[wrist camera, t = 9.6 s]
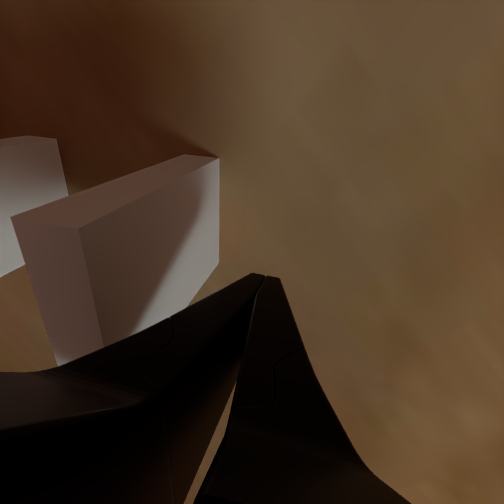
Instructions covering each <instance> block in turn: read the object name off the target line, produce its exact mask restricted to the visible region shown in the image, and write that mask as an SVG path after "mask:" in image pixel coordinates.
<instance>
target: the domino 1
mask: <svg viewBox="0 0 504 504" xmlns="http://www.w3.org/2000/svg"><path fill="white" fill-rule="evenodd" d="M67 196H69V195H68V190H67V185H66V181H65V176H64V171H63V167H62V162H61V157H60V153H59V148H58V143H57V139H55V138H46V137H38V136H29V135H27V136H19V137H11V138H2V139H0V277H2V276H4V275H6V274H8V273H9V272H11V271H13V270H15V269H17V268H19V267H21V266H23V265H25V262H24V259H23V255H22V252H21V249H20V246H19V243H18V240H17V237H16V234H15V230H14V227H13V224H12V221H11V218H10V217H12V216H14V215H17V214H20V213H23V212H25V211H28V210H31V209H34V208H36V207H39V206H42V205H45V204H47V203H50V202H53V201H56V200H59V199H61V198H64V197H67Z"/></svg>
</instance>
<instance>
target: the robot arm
mask: <svg viewBox="0 0 504 504" xmlns="http://www.w3.org/2000/svg"><path fill="white" fill-rule="evenodd" d="M236 381H237V382H236ZM235 383H236V387H235V391H234V396H233V401H232V405H231V411H230V415H229V419H228V424H227V428H226V431H225V435H224V437H223V439H222V442H221V444H220V446H219V448H218V450H217V452H216V455H215V457H214V459H213V461H212V463H211V465H210V468H209V470H208V472H207V474H206V476H205V478H204V481H203V483H202V485H201V487H200V489H199V491H198V494H197V496H196V498H195V500H194V503H193V504H411V503H410V502H409V501H407V500H406V499H405V498H404V497H402V496H401V495H400V494H398V493H397V492H396V491H395V490H393V489H392V488H391V487H389V486H388V485H387V484H386V483H384V482H383V481H382V480H380V479H379V478H378V477H377V476H376V475H374V474H373V473H372V471H371V470H370V469H369V468H368V467H367V466H366V465H365V463H364V462H363V461H362V459H361V458H360V456H359V455H358V453H357V452H356V450H355V448H354V447H353V445H352V443H351V441H350V439H349V438H348V436H347V434H346V432H345V430H344V428H343V427H342V425H341V423H340V421H339V419H338V417H337V415H336V414H335V412H334V410H333V408H332V406H331V404H330V402H329V401H328V399H327V397H326V395H325V393H324V391H323V389H322V387H321V385H320V383H319V381H318V379H317V377H316V375H315V373H314V370H313V368H312V365H311V363H310V360H309V358H308V355H307V352H306V350H305V347H304V344H303V341H302V339H301V336H300V333H299V330H298V327H297V325H296V322H295V319H294V316H293V313H292V311H291V308H290V305H289V302H288V300H287V297H286V294H285V291H284V288H283V286H282V283H281V280H280V278H277V277H272V276H266V277H265V276H264V275H261V274H256V273H251V274H249V275H247V276H245V277H243V278H241V279H239V280H237V281H236V282H234V283H232V284H230V285H228V286H226V287H224V288H222V289H220V290H219V291H217V292H215V293H213V294H211V295H209V296H207V297H205V298H203V299H202V300H200V301H198V302H196V303H194V304H192V305H190V306H188V307H187V308H185V309H183V310H181V311H179V312H177V313H175V314H173V315H171V316H170V318H169V317H168V318H166V319H164V320H162V321H160V322H158V323H156V324H154V325H152V326H150V327H148V328H146V329H144V330H142V331H140V332H138V333H136V334H133V335H131V336H129V337H127V338H124V339H122V340H120V341H118V342H115V343H113V344H111V345H108V346H106V347H103V348H101V349H99V350H96V351H94V352H92V353H89V354H87V355H85V356H82V357H80V358H78V359H75V360H73V361H70V362H68V363H66V364H63V365H60V366H58V367H55V368H51V369H47V370H42V371H37V372H26V373H18V372H0V504H184V501H185V499H186V497H187V494H188V492H189V490H190V487H191V485H192V483H193V480H194V478H195V476H196V473H197V471H198V469H199V466H200V464H201V462H202V460H203V457H204V455H205V453H206V450H207V448H208V446H209V443H210V441H211V439H212V436H213V434H214V432H215V429H216V427H217V425H218V422H219V420H220V418H221V416H222V413H223V411H224V409H225V406H226V404H227V402H228V399H229V397H230V395H231V392H232V390H233V388H234V385H235Z"/></svg>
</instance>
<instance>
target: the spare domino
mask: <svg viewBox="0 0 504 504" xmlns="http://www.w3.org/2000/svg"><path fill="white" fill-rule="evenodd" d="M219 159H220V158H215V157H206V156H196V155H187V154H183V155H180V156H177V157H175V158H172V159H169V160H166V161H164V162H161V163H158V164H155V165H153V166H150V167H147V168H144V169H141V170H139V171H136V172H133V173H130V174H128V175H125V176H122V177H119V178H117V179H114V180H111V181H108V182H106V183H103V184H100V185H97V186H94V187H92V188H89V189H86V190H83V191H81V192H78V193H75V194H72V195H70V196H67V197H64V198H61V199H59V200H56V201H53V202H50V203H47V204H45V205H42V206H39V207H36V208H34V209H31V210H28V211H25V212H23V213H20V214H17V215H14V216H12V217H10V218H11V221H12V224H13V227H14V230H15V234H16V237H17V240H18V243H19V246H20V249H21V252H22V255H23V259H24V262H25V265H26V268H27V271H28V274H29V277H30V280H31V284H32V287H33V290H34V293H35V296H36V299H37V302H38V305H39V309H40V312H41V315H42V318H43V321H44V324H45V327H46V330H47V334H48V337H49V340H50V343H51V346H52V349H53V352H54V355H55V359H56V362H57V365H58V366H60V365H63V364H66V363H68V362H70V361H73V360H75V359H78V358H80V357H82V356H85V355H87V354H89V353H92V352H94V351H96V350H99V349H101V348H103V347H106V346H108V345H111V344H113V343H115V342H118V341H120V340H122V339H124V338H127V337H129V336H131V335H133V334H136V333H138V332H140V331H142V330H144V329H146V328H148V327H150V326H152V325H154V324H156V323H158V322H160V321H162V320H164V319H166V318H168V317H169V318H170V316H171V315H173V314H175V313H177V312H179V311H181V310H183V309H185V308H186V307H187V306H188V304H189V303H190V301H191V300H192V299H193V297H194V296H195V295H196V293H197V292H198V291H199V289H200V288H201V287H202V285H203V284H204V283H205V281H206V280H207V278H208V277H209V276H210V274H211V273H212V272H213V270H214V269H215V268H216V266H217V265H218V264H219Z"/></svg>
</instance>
